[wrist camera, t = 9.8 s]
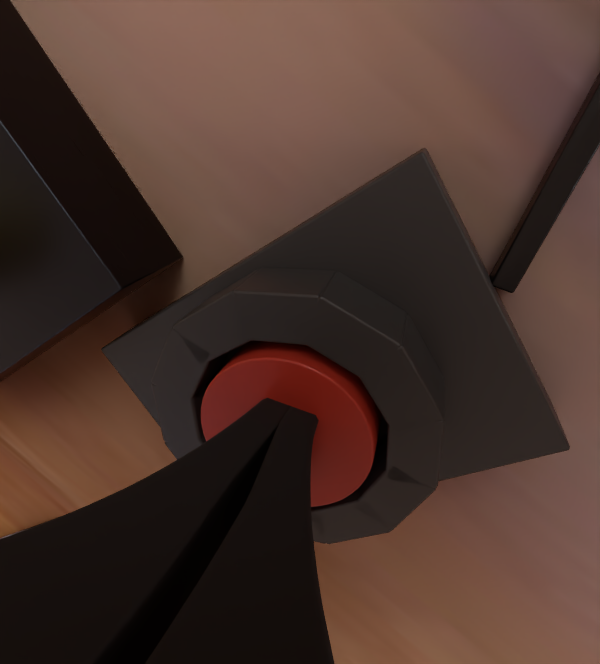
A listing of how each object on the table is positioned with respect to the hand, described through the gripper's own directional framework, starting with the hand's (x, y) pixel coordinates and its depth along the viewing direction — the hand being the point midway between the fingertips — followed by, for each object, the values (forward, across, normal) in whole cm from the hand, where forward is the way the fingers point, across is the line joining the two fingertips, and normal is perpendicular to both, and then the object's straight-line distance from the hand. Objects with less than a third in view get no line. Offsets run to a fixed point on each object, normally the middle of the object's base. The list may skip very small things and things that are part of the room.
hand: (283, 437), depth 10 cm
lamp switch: (+2, 0, 0) cm, 2 cm away
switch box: (+4, 0, 0) cm, 4 cm away
